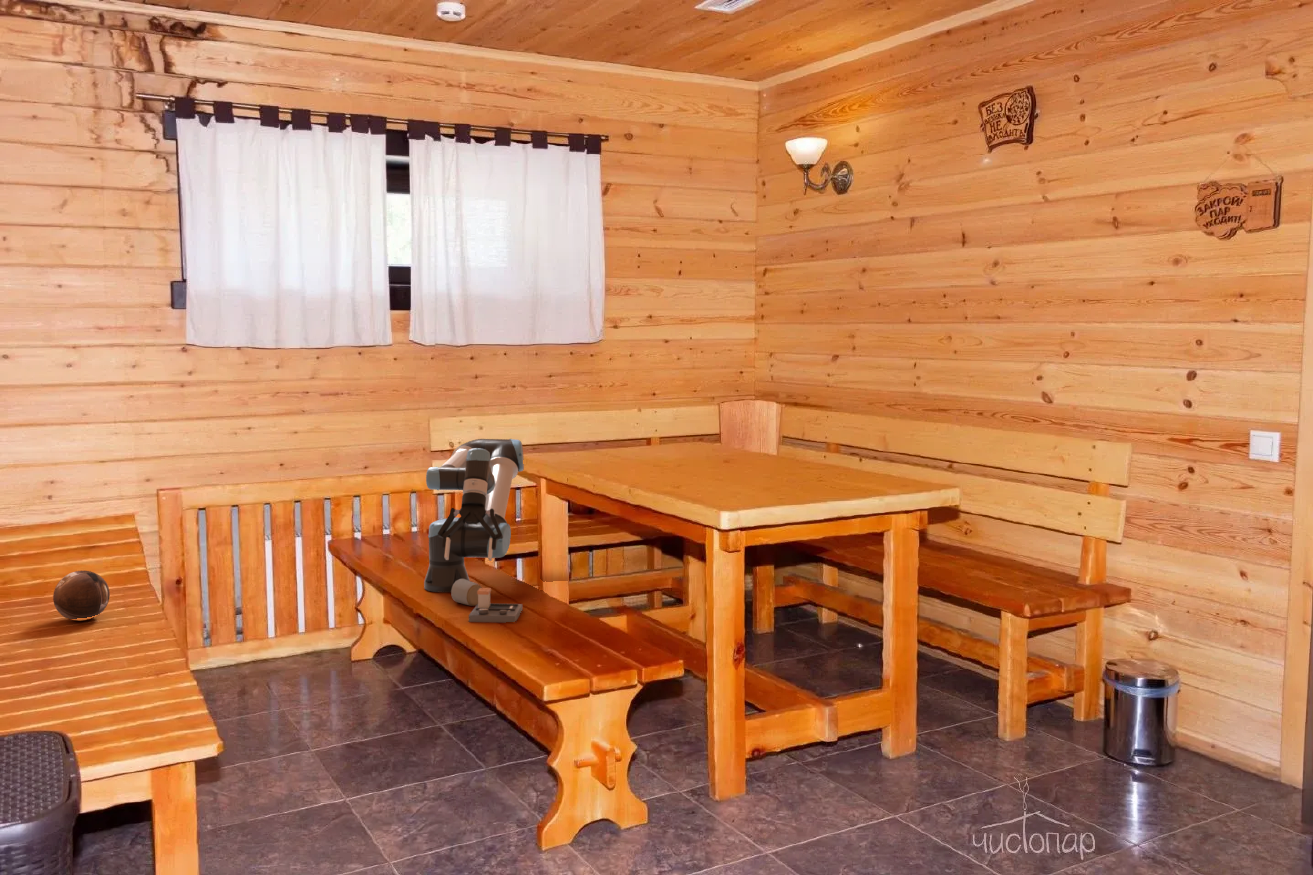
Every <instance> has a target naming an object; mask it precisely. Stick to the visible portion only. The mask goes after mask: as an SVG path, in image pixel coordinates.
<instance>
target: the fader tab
mask: <svg viewBox="0 0 1313 875" xmlns="http://www.w3.org/2000/svg"><path fill="white" fill-rule="evenodd" d="M491 592H492V588H491V587H482V588H480V589H479V590H478V591H477V594H478V608H489V606H490V603H491Z"/></svg>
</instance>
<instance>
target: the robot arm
mask: <svg viewBox="0 0 1313 875" xmlns="http://www.w3.org/2000/svg"><path fill="white" fill-rule="evenodd" d="M523 460H525V458H524V447H523V444H522V441H521V440H519V439H513V438H509V439H507V438H506V439H505V438H504V439H503V438H502V439H501V438H477V439H473V440H469V441H467V442H464V443H462V444H459V446H457V447H456V448H455V449H454V450H453V452H452V453H451V456H450V458H448V460H446V461H445V462H444V463H443V464H442V465H441V466H432V467H431V466H430V467H428V469H427V470H426V474H425V476H426V477H425V484H426V487H427V488H428V489H429V490H436V491H462V497H461V507H460V508H459V509H456V508H454V507H451V509H450V512H449V514H448V516H447V517H446V518H443V519H442V518H441V519H438V520H434V521H433V522H431V523H430V524H429V526H428V536H427V537H428V559H429V562H428V563H429V564H428V568H427V571H426V575H425V577H424V581H423V586H424V587H423V588H424V590H425V591H429V592H434V593H451V590H452V586H453V584H454V583H455V582H456V581H457V580H459V579H466V580H468V581H470V580H471V579H470V578H469V577H470V576H469V575H468V571H467V569H466V565H465V558H483V559H484V558H486V559H488V561H490V562H492V560H493V559H495V558H496V559H498V558H500V559H501V558H503V557H505V556H506V554H507V553H508V551H509V548H510V543H511V537H512V536H511V535H512V534H511V532H512V529H511V526H510V524H509V523H507V519H506V518H505V517H506V512H507V507H508V503H509V497H510V492H511V487H512V483H513V482H512V481H513V480H514V479H515V478H516V477H517V475H518V473H520V472H523V471H524V470H525V463H524V464H523ZM458 515H460V517H457V516H458Z"/></svg>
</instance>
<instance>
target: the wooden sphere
mask: <svg viewBox="0 0 1313 875" xmlns="http://www.w3.org/2000/svg"><path fill="white" fill-rule="evenodd" d="M110 594H111V592H110V588H109V585H108V583H107V581H106V580H105V579H104V578H103V577H102V576H101V575H100V574H98V573H96V572H94V571H91V570H78V571H77V570H76V571H73V572H70V573H68V574H66V575H65V576H64V577H62V578H61V579H60V580H59V582H58V583H57V584H56V585H55V587H54V590H53V594H52V596H53V600H52V601H53V605H54V607H55V609H56V610H57V612H58V613H59V614H60V615H61V616H62V617H63V618H65V619H67V618H69V619H77V618H87V617H92V616H95V615H98V614H99V615H101V614H102V613H103V612H104V610H105V609H106V608H107V607H108V604H109V601H110ZM100 613H101V614H100ZM99 615H98V616H99ZM69 619H68V620H69Z"/></svg>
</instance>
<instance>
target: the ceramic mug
mask: <svg viewBox="0 0 1313 875" xmlns="http://www.w3.org/2000/svg"><path fill="white" fill-rule="evenodd" d="M480 588H483V587H482V585H480V584H478V583H476V582H473V581H468V580H466V579H459V580H457V581H456V582H455V583H454V584H453V586H452V590H451V592H450V593H451V595H450V596H451V598H452V600H453V601H454V602H455V603H458V604H462V605H466V606H471V607H472V606H473V607H474V606H476V605H477V604H478V594H477V591H478V590H479V589H480Z"/></svg>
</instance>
